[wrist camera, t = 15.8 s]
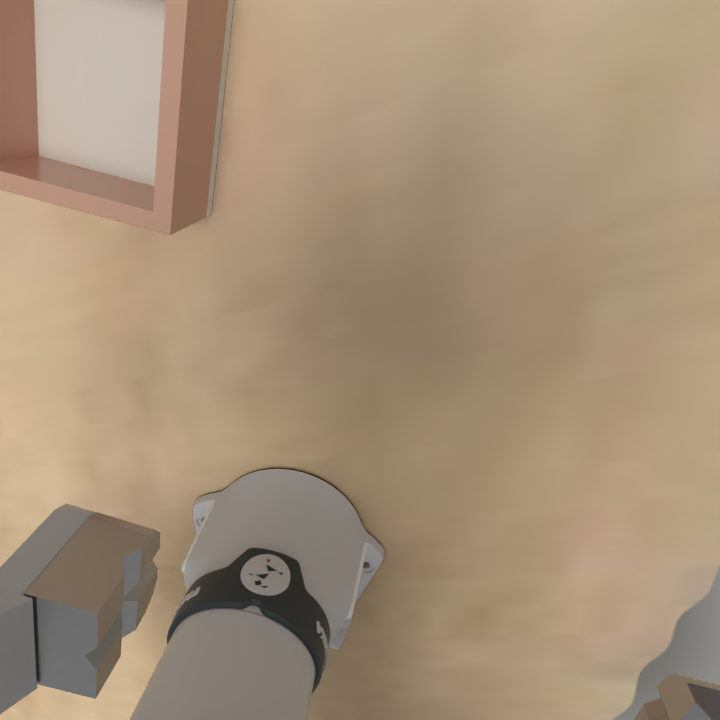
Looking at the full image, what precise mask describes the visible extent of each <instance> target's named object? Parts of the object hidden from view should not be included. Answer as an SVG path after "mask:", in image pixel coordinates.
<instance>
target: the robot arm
mask: <svg viewBox="0 0 720 720" xmlns="http://www.w3.org/2000/svg"><path fill="white" fill-rule="evenodd" d="M193 519H194V526H195V534H196V537H195V539H194V541H193V543H192V545H191V547H190V549H189V551H188V553H187V555H186V557H185V560H184V562H183V564H182V568H181V571H182V572H183V573H184V584H185V587H186V591H187V593H186V595H185V597H184V599H183V600H182V601H181V603H180V604H179V606H178V608H177V610H176V612H175V615H174V617H173V620H172V624H171V626H170V629H169V632H168V636H167V647H166V649H165V651H164V653H163V655H162V657H161V659H160V661H159V662H158V664H157V666H156V668H155V670H154V672H153V674H152V676H151V678H150V680H149V682H148V684H147V686H146V689H145V691H144V693H143V695H142V697H141V699H140V700H139V702H138V704H137V706H136V708H135V710H134V712H133V714H132V716H131V718H130V720H307V715H308V709H309V704H310V699H311V694H312V693H313V692H314V690H315V689H316V688H317V686H318V684H319V682H320V679H321V675H322V673H323V670H324V667H325V665H326V661H327V656H328V647H329V648H332V649H334V650H339V649H340V648H341V646H342V644H343V641H344V638H345V635H346V631H347V630H348V629H349V627H350V624H351V621H352V614H353V611H354V606H355V602H356V601H357V599H358V598H359V596H360V595H361V593H362V592H363V590H364V589H365V587H366V586H367V584H368V583H369V581H370V580H371V578H372V577H373V575H374V574H375V572H376V571H377V569H378V568H379V566H380V565H381V563H382V560H383V557H384V549H383V548H382V546H381V545H380V544H379V543H378V542H377V541H376V540H375V539H374V538H373V537H372V536H371V535H370V534H369V533H367V532H366V530H365V529H364V527H363V525H362V523H361V521H360V519H359V516H358V514H357V512H356V511H355V509H354V507H353V506H352V505H351V503H350V502H349V501H348V500H347V499H346V498H345V497H344V496H343V495H342V494H341V493H340V492H339V491H338V490H337V489H335V488H334V487H332V486H331V485H329V484H328V483H326V482H324V481H323V480H321V479H319V478H316V477H314V476H312V475H309V474H306V473H303V472H298V471H294V470H287V469H267V470H261V471H256V472H253V473H250V474H247V475H245V476H243V477H241V478H239V479H238V480H236V481H235V482H234V483H232V484H231V485H230V486H228V487H227V488H226V489H224V490H222V491H220V492H215V493H211V494H207V495H204V496H201V497H199V498H198V499H197V500H196V502H195V504H194V507H193ZM159 548H160V532H158V531H156V530H153V529H150V528H147V527H143V526H140V525H137V524H134V523H130V522H127V521H124V520H121V519H117V518H114V517H111V516H108V515H104V514H101V513H98V512H93V511H90V510H87V509H83V508H80V507H76V506H73V505H70V504H65V505H63V506H61V507H59V508H57V509H55V510H54V511H53V512H52V513H51V515H50V516H49V517H48V518H47V519H46V520H45V521H44V522H43V523H42V524H41V525H40V526H39V527H38V528H37V529H36V530H35V531H34V532H33V534H32V535H31V536H30V537H29V538H28V539H27V540H26V541H25V542H24V543H23V544H22V545H21V546H20V547H19V548H18V549H17V550H16V551H15V553H14V554H13V555H12V556H11V557H10V558H9V559H8V560H7V561H6V562H5V563H4V564H3V565H2V566H1V567H0V714H1V713H3V712H4V711H5V710H7V709H8V708H10V707H11V706H13V705H14V704H15V703H17V702H18V701H20V700H21V699H22V698H24V697H25V696H27V695H28V694H30V693H31V692H32V691H34V690H35V689H37V684H39V685H43V686H47V687H51V688H55V689H59V690H63V691H67V692H71V693H75V694H79V695H83V696H87V697H91V698H95V699H96V697H97V696H98V694H99V692H100V690H101V689H102V687H103V685H104V684H105V682H106V680H107V678H108V677H109V675H110V673H111V672H112V670H113V668H114V666H115V665H116V663H117V661H118V660H119V658H120V656H121V641H122V637H124V636H126V635H127V634H129V633H131V632H133V631H134V630H136V628H137V626H138V625H139V623H140V621H141V619H142V617H143V616H144V614H145V612H146V609H147V607H148V605H149V602H150V600H151V597H152V595H153V591H154V587H155V584H156V579H157V570H158V568H157V567H156V565H155V564H154V562H153V561H152V560H153V558H154V556H155V555H156V553H157V551H158V550H159ZM365 562H368V563H365ZM658 691H659V695H660V698H659V699H656V700H654V701H651V702H648V703H646V704H644V705H643V706H642V708H641V709H640V711H639V712H638V714H637V715H636V717H635V720H720V685H717V684H713V683H709V682H705V681H702V680H698V679H694V678H690V677H687V676H683V675H679V674H675V673H674V674H671V675H669V676H666V677H665V678H664V679H663V680H662V681H661V683H660V684H659V685H658Z"/></svg>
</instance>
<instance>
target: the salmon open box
mask: <svg viewBox="0 0 720 720" xmlns="http://www.w3.org/2000/svg"><path fill="white" fill-rule="evenodd" d="M233 8H234V0H0V190H3V191H7V192H11V193H14V194H18V195H22V196H26V197H29V198H33V199H37V200H41V201H44V202H48V203H52V204H56V205H59V206H63V207H67V208H71V209H74V210H78V211H82V212H86V213H89V214H93V215H97V216H101V217H104V218H108V219H112V220H116V221H119V222H123V223H127V224H131V225H134V226H138V227H142V228H146V229H149V230H153V231H157V232H161V233H164V234H168V235H171V234H173V233H175V232H177V231H179V230H181V229H183V228H185V227H187V226H189V225H191V224H193V223H195V222H197V221H199V220H201V219H203V218H205V217H207V216H209V215H211V213H212V203H213V194H214V185H215V175H216V166H217V157H218V147H219V138H220V129H221V119H222V110H223V101H224V91H225V82H226V73H227V63H228V54H229V45H230V36H231V26H232V17H233Z"/></svg>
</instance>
